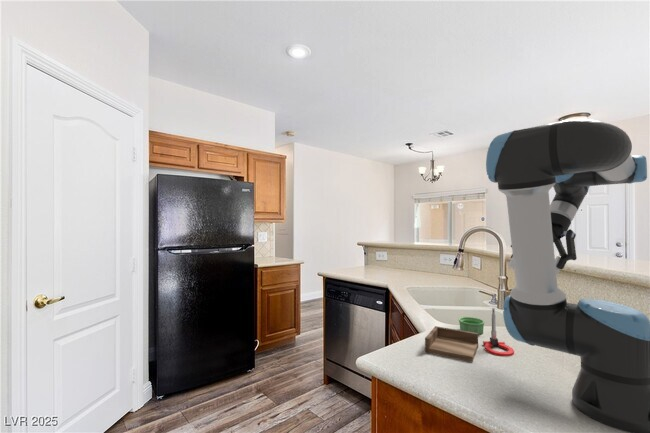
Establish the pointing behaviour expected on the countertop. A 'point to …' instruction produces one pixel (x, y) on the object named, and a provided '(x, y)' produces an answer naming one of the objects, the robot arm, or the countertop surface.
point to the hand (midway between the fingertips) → (529, 272)
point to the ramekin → (471, 324)
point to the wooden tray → (452, 343)
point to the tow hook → (496, 340)
